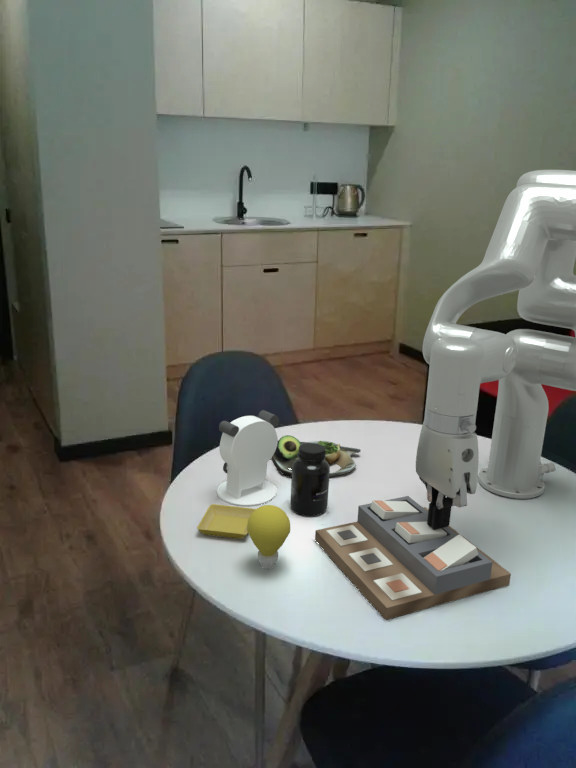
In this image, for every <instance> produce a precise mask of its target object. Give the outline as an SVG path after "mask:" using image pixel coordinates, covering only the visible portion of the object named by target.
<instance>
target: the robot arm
mask: <svg viewBox="0 0 576 768" xmlns="http://www.w3.org/2000/svg"><path fill="white" fill-rule="evenodd" d="M485 251H486V252H485V254H484V257H483V260H482V261H481V263H479V265H477V266H476V267H475V268H473V269H472V270H470V271H468V272H467V273H466V274H464V275H463V276H461V277H460V278H458V280H457V281H456V282H454V283H453V284H451V286H450V287H449V288H447V290H446V291H445V292H444V293H443V294H442V296H440V298H439V299H438V301H437V303H436V305H435V306H434V310H433V313H431V317H430V320H429V323H428V325H427V328H426V330H425V334H424V336H423V342H422V355H423V359H424V361H425V362H426V364H428V365H429V368H428V378H427V379H428V380H427V389H426V400H425V406H424V407H425V408H424V409H425V410H424V419H423V422H422V426H421V429H420V433H419V438H418V442H417V443H418V444H417V448H416V455H415V456H416V458H415V472H416V474H417V476H418V478H419V480H420V481H421V483H423V485H425V486H424V487H425V488H426V500H427V502H428V520H427V525H428V526H430V527H431V528H432V529H433V530H436V529H440V528H444V527H448V526H450V522H451V515H452V507H457V508H464V507H467V506H468V494H469V495H474V494H476V491H477V487H478V483H479V484H480V485H481V486H482V487H483V489H485V490H487V491H489V492H491V493H492V494H496V495H499V496H503V497H506V498H510V499H511V498H512V499H522V500H525V499H533V498H536V497H539V496H541V495H542V494H543V493H544V491H545V483H544V481H543V479H542V476H544V475H545V474H548V473H554V472H555V471H556V467H557V466H556V464H555V463H554V462H547V463H543V464H542V462H541V457H542V451H543V445H544V440H545V439H544V438H545V434H546V427H547V420H548V415H549V411H550V410H549V408H550V407H549V400H548V396H547V394H546V392H545V389H544V388H543V386H542V385H544V386H549V387H554V388H559V389H562V390H568V391H573V392H576V274H574V268H575V267H574V266H575V262H576V170H569V169H568V170H567V169H537V170H532V171H528V172H525V173H524V174H522V175H521V176H520V177H519V178H518V180H517V182H516V187H515V188H514V189H512V191H510V193H509V194H508V195H507V198H506V199H505V201H504V204H503V207H502V209H501V212H500V215H499V217H498V220H497V223H496V225H495V227H494V230H493V233H492V236H491V238H490V240H489V243H488V246H487V248H486V250H485ZM517 291H518V296H517V305H516V308H517V309H516V310H517V313H518V315H519V317H520V318H522V319H523V320H525V321H528V322H532V323H534V324H535V323H536V324H540V325H546V326H553V327H559V328H564V329H570V330H572V331H574V336H575V337H574V336H569V335H564V334H563V335H562V334H557V333H553V332H548V331H547V332H546V331H542V330H535V329H530V328H518V329H514V330H510V331H509V332H507V333H506V334H505V333H502V332H499V331H494V330H488V329H482V328H477V327H474V326H468V325H462V324H457V322H458V320H459V319H460V317H461V316H462V314H463V313H464V312H466V311H467V310H468V309H469V308H471V307H472V306H474V305H476V304H477V303H479V302H481V301H485V300H488V299H492V298H494V297H498V296H501V295H505V294H507V293H513V292H517ZM496 381H498V388H497V389H498V390H497V398H496V405H495V413H494V421H493V428H492V435H491V441H490V442H491V443H490V450H489V456H488V464H487V467H485V468H482V470H480V471H479V462H480V461H479V458H480V456H479V453H480V452H479V440H478V435H477V433H476V432H475V431H476V430H477V425H476V420H477V411H478V405H479V404H478V403H479V396H480V395H479V394H480V387H481V384H483V383H491V382H496Z"/></svg>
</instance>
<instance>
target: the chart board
mask: <svg viewBox="0 0 576 768" xmlns="http://www.w3.org/2000/svg"><path fill="white" fill-rule="evenodd" d="M423 508H424V509H425V510H427V511H428V510H429V508H427V507H426V506H424V507H423ZM448 528H450V529H451V530H452V531H454V532H455V533H456V534H457V535H459V534H460V533H459V532H458V531H457V530H456V529H454V528H453V527H452V526H450V525H449V526H448ZM314 535H315V536H314V541H315V540H316V541H315V543H316V542H318V543H319V545H320V546H321V547H322V548H323V549H324V550H323V549H322V548H321V547H320V546H319V545H318V546H319V547H320V548H321V549H322V550H323V552H324V551H325V552H326V553H327V554H328V555H329V556H330V557H329V556H328V555H327V554H326V553H325V552H324V553H325V554H326V555H327V556H328V557H329V559H331V561H332V562H333V561H334V562H335V563H336V564H335V563H334V562H333V563H334V564H335V565H336V566H337V567H338V568H339V570H340V571H341V572H342V571H343V572H342V573H343V574H344V575H345V576H346V578H348V580H349V581H350V582H351V583H352V584H353V585H354V586H355V588H357V590H358V591H359V592H360V594H362V595H363V597H364V598H365V600H367V601H368V602H369V603H370V604H371V605H372V606H373V608H374V609H375V610H376V611H377V613H379V614H380V615H381V617H382V618H383V619H384V620H385V621H387V620H391V619H394V618H398V617H401V616H405V615H408V614H411V613H415V612H419V611H423V610H427V609H430V608H433V607H436V606H440V605H444V604H447V603H451V602H454V601H457V600H461V599H465V598H469V597H471V596H475V595H479V594H483V593H486V592H489V591H493V590H497V589H500V588H503V587H507V586H510V582H511V581H510V580H511V576H512V573H511V572H509V571H508V570H507V569H506V568H504V567H503V566H502V565H501V564H499V563H498V562H496V561H495V560H494V559H493V558H491V556H489V555H487V554H486V553H485V551H482V550H481V549H480V548H478V546H476V545H475V544H473V542H471V541H470V540H468V539H467V538H465V536H464V535H462V534H460V535H461V536H462V537H463V538H465V539H466V540H467V541H469V542H470V543H471V544H472V545H474V546H475V547H476V548H477V550H478V551H479V552H480V553H482V554H483V555H484V556H486V557H487V558H488V559H489V560H491V561H492V569H491V576H490V580H486V581H483V582H479V583H475V584H472V585H468V586H464V587H461V588H457V589H454V590H450V591H446V592H443V593H439V594H436V595H434V594H433V593H432V592H431V591H430V590H429V589H428V588H427V587H426V586H425V585H424V584H423V583H422V582H421V581H420V580H419V579H417V578H416V577H415V576H414V575H413V574H412V573H411V572H410V571H409V570H408V569H407V568H406V567H405V566H404V565H403V564H402V563H401V562H400V561H399V560H397V559H396V558H395V557H394V556H393V555H392V554H391V553H390V552H389V551H388V550H387V549H386V548H385V547H384V546H383V545H382V544H381V543H380V542H378V541H377V540H376V539H375V538H374V537H373V536H372V535H371V534H370V533H369V532H368V531H367V530H366V529H365V528H364V527H363V526H362V525H361V524H360V523H358V522H357V521H353V522H349V523H344V524H338V525H335V526H328V527H325V528H320V529H319V528H318V529H316V530H315V534H314Z"/></svg>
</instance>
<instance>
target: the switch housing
mask: <svg viewBox="0 0 576 768" xmlns="http://www.w3.org/2000/svg"><path fill="white" fill-rule="evenodd" d="M384 501H406V502H407V503H409V504H410V505H411V506H412V507H414V508H415V509H416V510H417V511H419V514H415V515H411V516H406V517H401V518H397V519H382V518H381V517H380V516H379V515H378V514H376V513H375V512H374V511H373V510H372V509H371V504H372V502H371V503H370V502H369V503H366V504H362V505H358V510H357V520H356V522H358V523H360V524H361V525H362V526H363V527H364V528H365V529H366V530H367V531H368V532H369V533H370V534H371V535H372V536H373V537H374V538H375V539H376V540H377V541H378V542H380V543H381V544H382V545H383V546H384V547H385V548H386V549H387V550H388V551H389V552H390V553H391V554H392V555H393V556H394V557H395V558H396V559H397V560H399V561H400V562H401V563H402V564H403V565H404V566H405V567H406V568H407V569H408V570H409V571H410V572H411V573H412V574H413V575H414V576H415V577H416V578H417V579H419V580H420V581H421V582H422V583H423V584H424V585H425V586H426V587H427V588H428V589H429V590H430V591H431V592H432V593H433V594H434V595H436V594H439V593H443V592H446V591H450V590H454V589H457V588H461V587H464V586H468V585H472V584H475V583H479V582H483V581H486V580H490V576H491V569H492V561H491V560H489V559H488V558H487V557H486V556H484V555H483V554H482V553H480V552H479V551H478V550H477V552H478V555H477V556H475V557H474V558H472V559H471V560H469V561H468V562H466V563H465V564H464V565H461V566H457V567H453V568H449V569H445V570H442V571H437V570H436V569H435V568H434V567H433V566H432V565H431V564H429V563H428V562H427V561H426V560H425V559H424V557H426V556H427V555H429V554H430V553H432V552H433V551H435V550H436V549H438V548H439V547H441V546H442V545H444V544H445V543H447V542H448V541H450V540H451V539H453V538H454V537H456V536H457V534H456V533H455V532H454V531H452V530H451V529H450V528H448V527H444V528H441V529H442V530H444V531H445V532H446V533H447V535H446V536H444V537H440V538H436V539H431V540H427V541H423V542H419V543H408V542H407V541H406V540H405V539H404V538H403V537H401V536H400V535H399V534H398V533H397V532H396V531H395V528H396V524H397V523H399V522H426V521H427V520H428V511H427V510H425V509H424V507H423V506H422V505H420V504H419V503H418V502H417V501H415V500H413V498H411V497H410V496H409V495H406V496H402V497H401V496H400V497H395V498H392V499H391V498H390V499H386V500H384Z"/></svg>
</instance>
